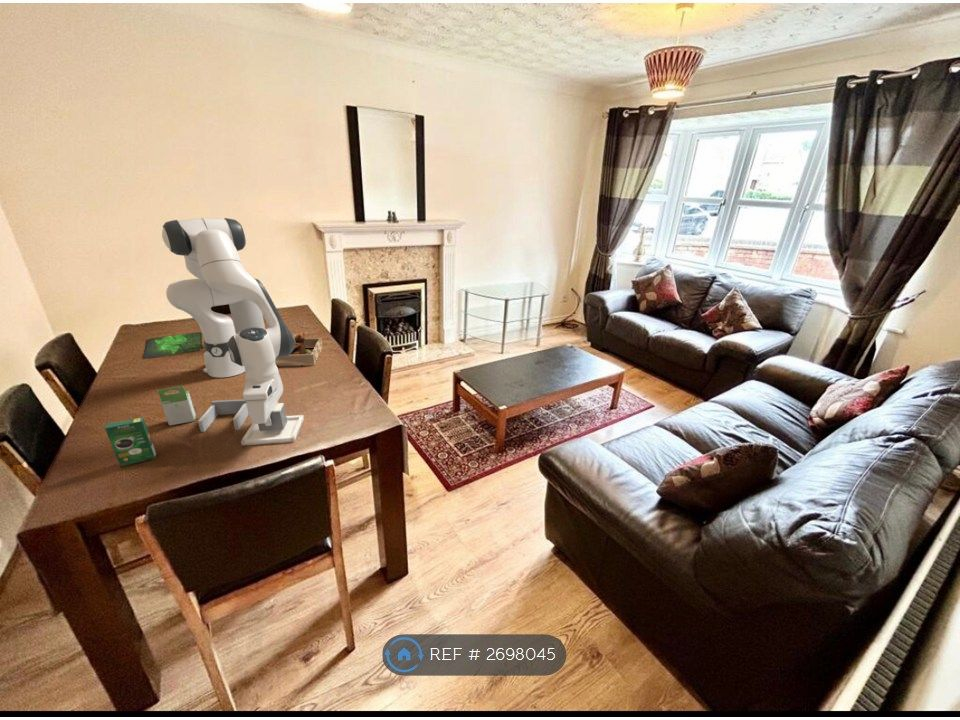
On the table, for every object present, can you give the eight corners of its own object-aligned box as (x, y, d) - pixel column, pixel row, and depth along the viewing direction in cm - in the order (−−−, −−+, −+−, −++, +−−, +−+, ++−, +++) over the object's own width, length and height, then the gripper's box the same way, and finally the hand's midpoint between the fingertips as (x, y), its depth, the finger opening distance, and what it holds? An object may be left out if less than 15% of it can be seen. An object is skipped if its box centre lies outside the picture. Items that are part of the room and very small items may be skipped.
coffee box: (158, 453, 112) (143, 415, 107) (156, 458, 110) (141, 420, 105) (122, 461, 109) (105, 422, 103) (120, 467, 106) (102, 428, 101)
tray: (256, 421, 129) (255, 417, 128) (304, 418, 131) (303, 415, 131) (242, 445, 117) (241, 441, 116) (294, 441, 120) (293, 437, 119)
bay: (216, 413, 132) (212, 400, 130) (250, 411, 134) (247, 398, 132) (201, 431, 122) (196, 418, 120) (238, 429, 124) (235, 416, 122)
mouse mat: (203, 351, 178) (202, 349, 178) (142, 361, 167) (141, 358, 166) (201, 332, 199) (201, 331, 198) (147, 340, 187) (146, 338, 187)
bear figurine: (290, 351, 182) (285, 327, 177) (319, 354, 180) (315, 330, 175) (271, 363, 170) (265, 337, 165) (302, 366, 168) (297, 340, 163)
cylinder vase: (258, 337, 196) (248, 288, 185) (273, 342, 190) (263, 293, 180) (233, 344, 186) (221, 294, 176) (248, 350, 180) (236, 298, 170)
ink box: (196, 415, 131) (185, 380, 125) (195, 421, 127) (183, 386, 122) (171, 420, 128) (159, 384, 122) (169, 426, 124) (156, 390, 119)
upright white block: (264, 423, 125) (259, 404, 122) (287, 421, 126) (283, 402, 123) (259, 431, 121) (255, 411, 118) (283, 429, 122) (279, 410, 119)
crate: (280, 348, 184) (279, 339, 182) (322, 347, 187) (321, 337, 185) (267, 366, 166) (265, 356, 164) (314, 365, 169) (312, 354, 167)
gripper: (263, 366, 125) (271, 403, 131) (239, 398, 107) (250, 439, 113) (284, 365, 126) (291, 401, 132) (264, 397, 108) (273, 437, 114)
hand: (272, 419), depth 122 cm, fingers closed on upright white block, 4 cm apart
